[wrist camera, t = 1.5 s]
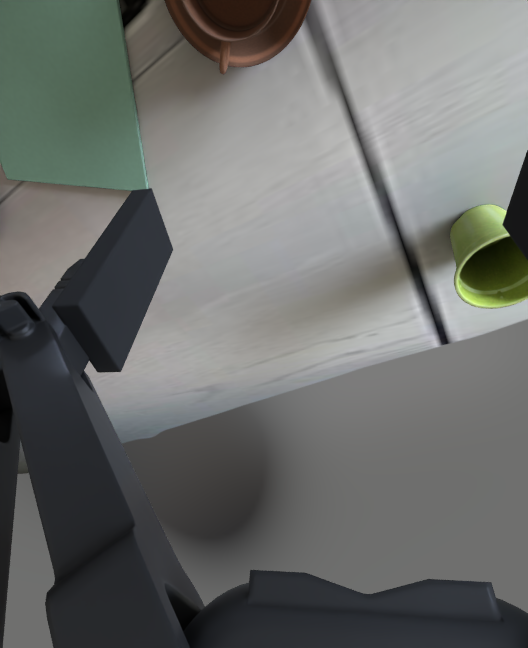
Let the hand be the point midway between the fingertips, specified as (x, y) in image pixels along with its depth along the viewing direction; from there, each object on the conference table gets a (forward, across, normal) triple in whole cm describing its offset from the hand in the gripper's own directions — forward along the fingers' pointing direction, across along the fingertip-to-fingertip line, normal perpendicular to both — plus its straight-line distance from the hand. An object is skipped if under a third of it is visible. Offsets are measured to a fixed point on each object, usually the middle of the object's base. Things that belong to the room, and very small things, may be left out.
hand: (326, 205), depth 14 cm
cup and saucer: (+28, -6, +6) cm, 29 cm away
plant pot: (+28, +18, -19) cm, 38 cm away
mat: (+27, -25, 0) cm, 37 cm away
